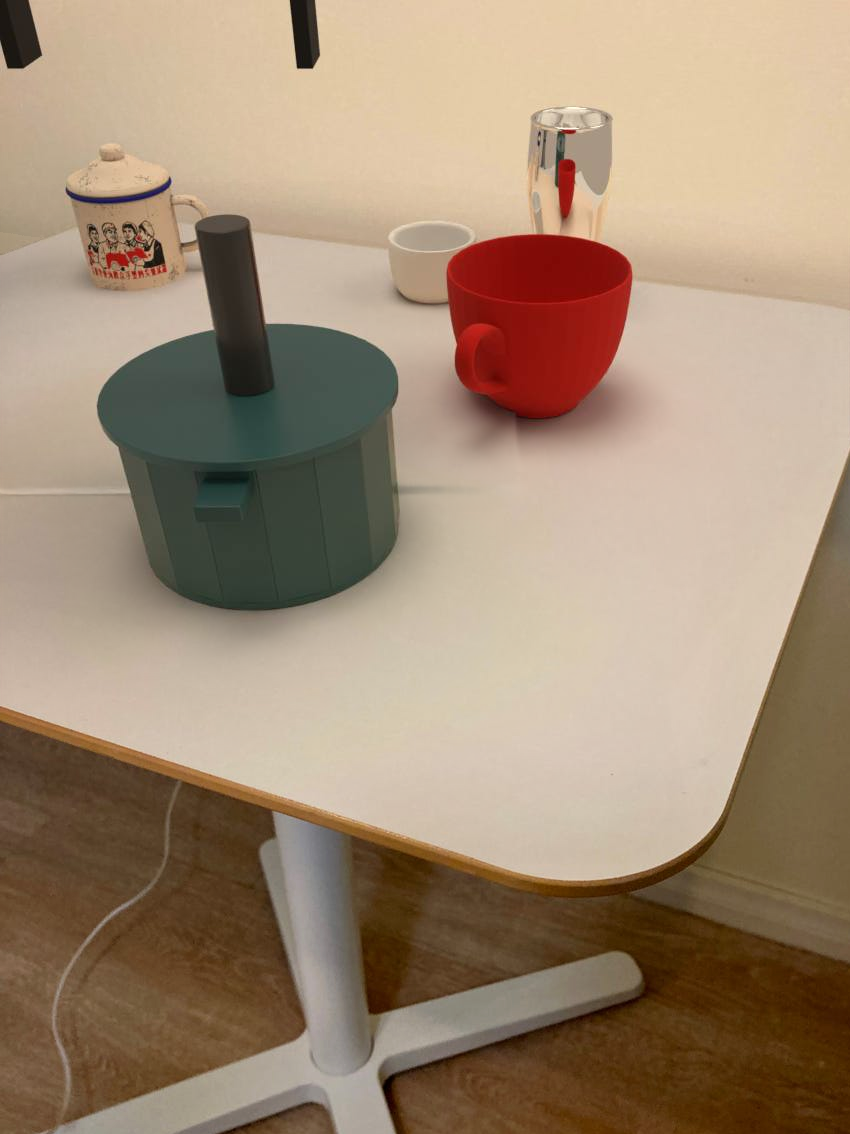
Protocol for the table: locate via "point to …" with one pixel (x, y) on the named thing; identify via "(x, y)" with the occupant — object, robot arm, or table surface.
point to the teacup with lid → (129, 221)
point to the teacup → (426, 257)
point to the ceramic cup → (537, 319)
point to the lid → (245, 379)
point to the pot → (270, 524)
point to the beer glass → (569, 171)
